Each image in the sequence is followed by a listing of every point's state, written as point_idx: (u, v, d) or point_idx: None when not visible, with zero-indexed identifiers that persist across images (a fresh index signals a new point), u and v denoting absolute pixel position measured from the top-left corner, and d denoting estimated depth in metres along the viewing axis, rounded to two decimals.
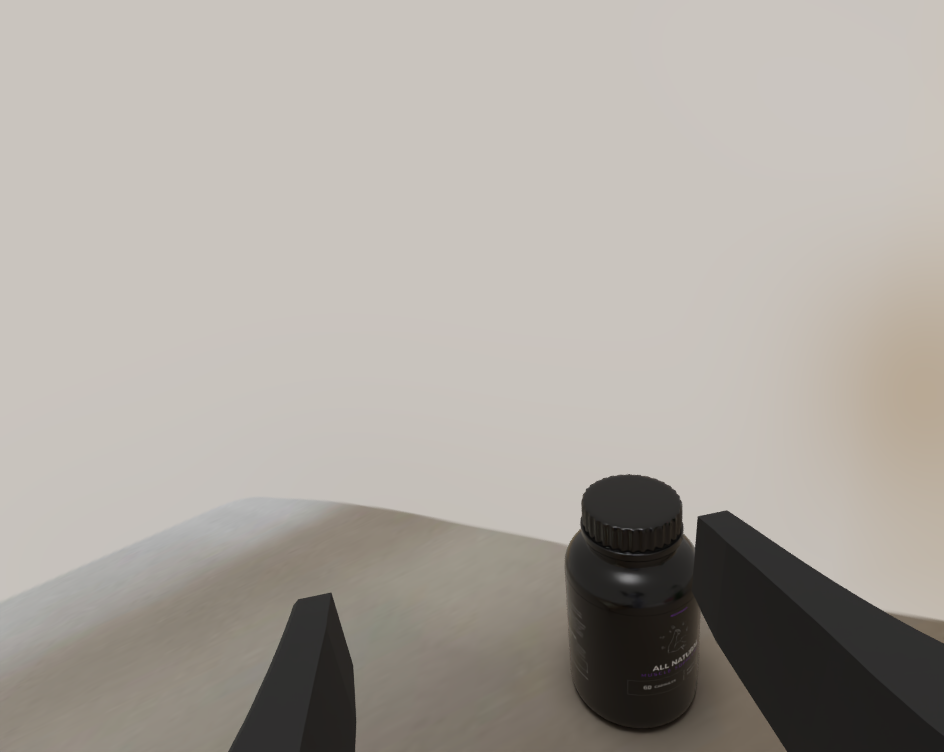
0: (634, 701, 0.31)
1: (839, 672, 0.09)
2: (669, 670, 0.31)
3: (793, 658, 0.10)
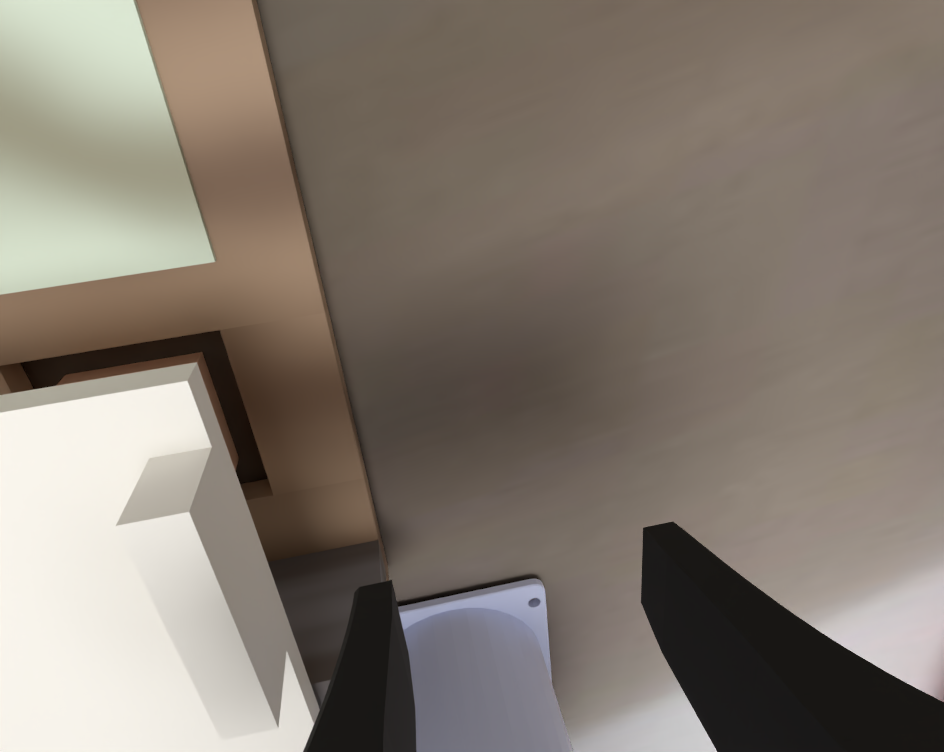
0: None
1: (765, 690, 0.09)
2: None
3: (727, 674, 0.10)
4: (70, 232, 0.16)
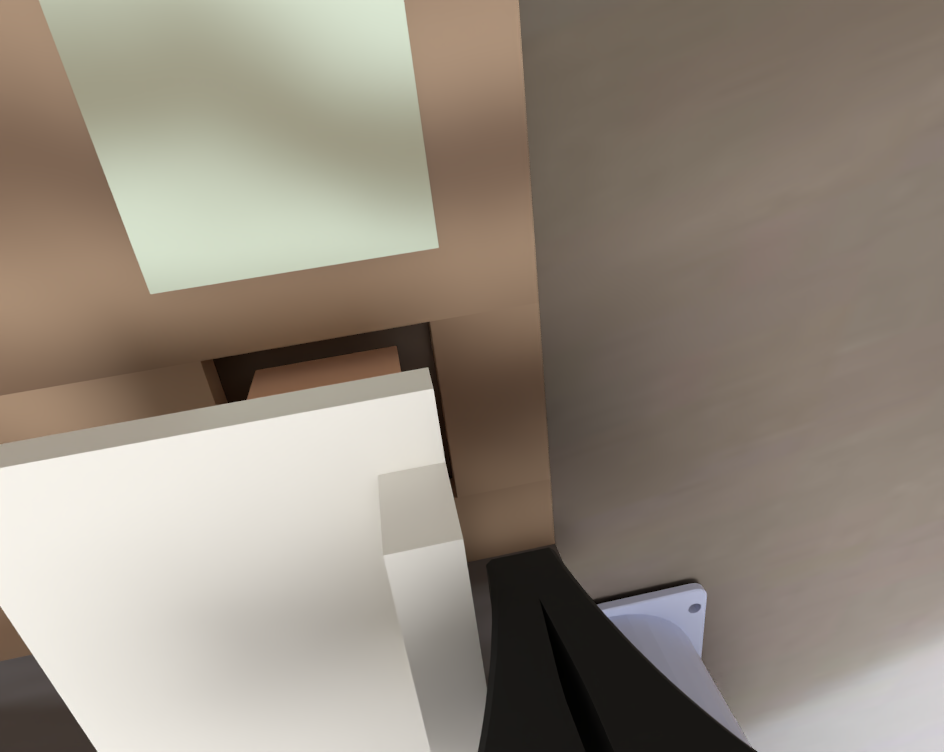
0: None
1: (595, 731, 0.08)
2: None
3: (575, 710, 0.09)
4: (296, 215, 0.15)
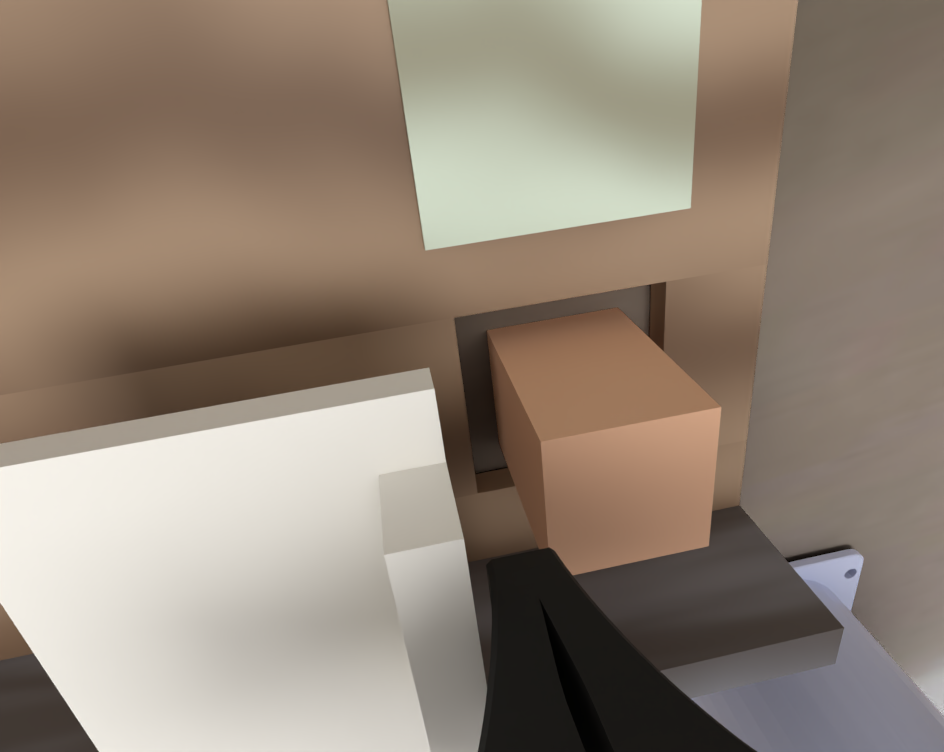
0: None
1: (595, 730, 0.08)
2: None
3: (575, 710, 0.09)
4: (570, 175, 0.15)
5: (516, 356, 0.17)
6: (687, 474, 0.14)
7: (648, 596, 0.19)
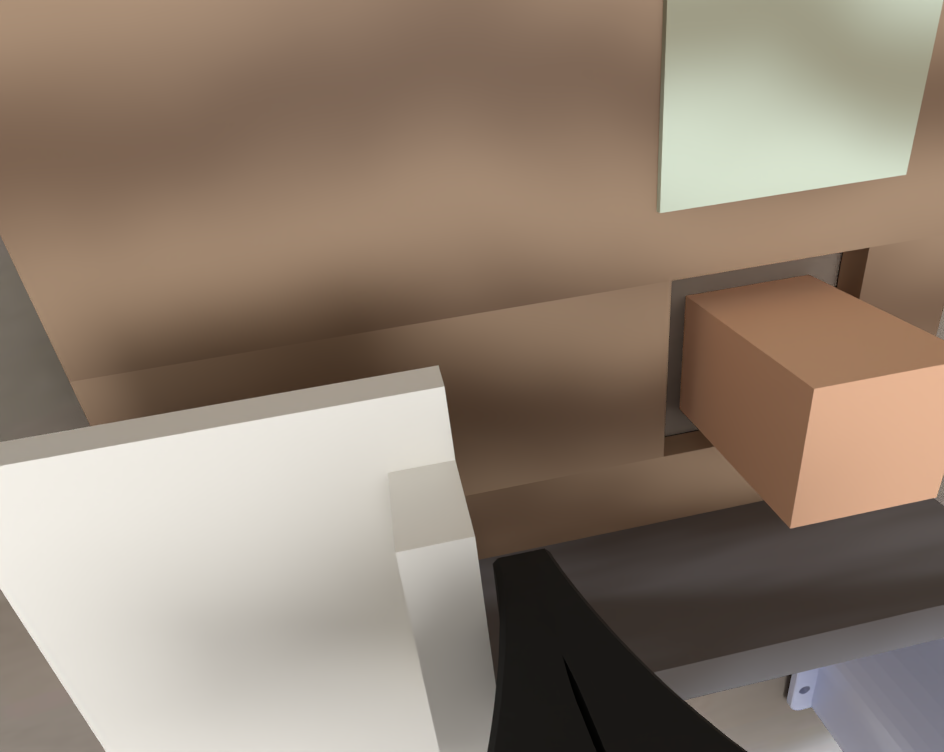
0: None
1: (588, 732, 0.08)
2: None
3: None
4: (803, 140, 0.16)
5: (733, 317, 0.17)
6: (934, 424, 0.15)
7: (836, 554, 0.19)
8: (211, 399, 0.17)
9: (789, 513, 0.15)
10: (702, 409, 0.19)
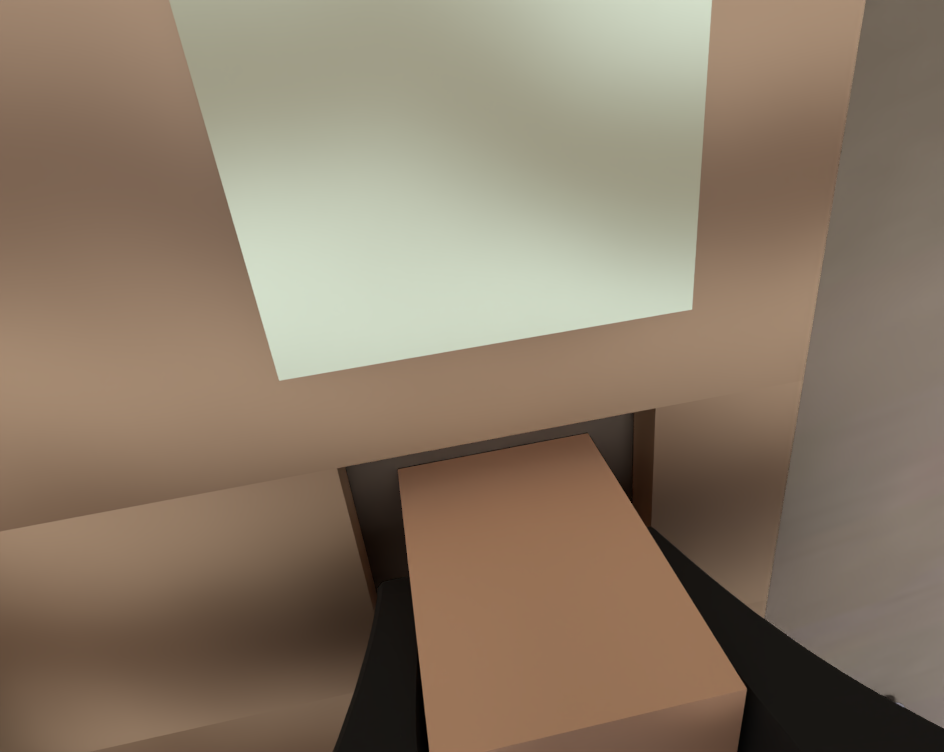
0: None
1: None
2: None
3: None
4: (503, 266, 0.10)
5: (428, 529, 0.11)
6: None
7: None
8: None
9: None
10: None
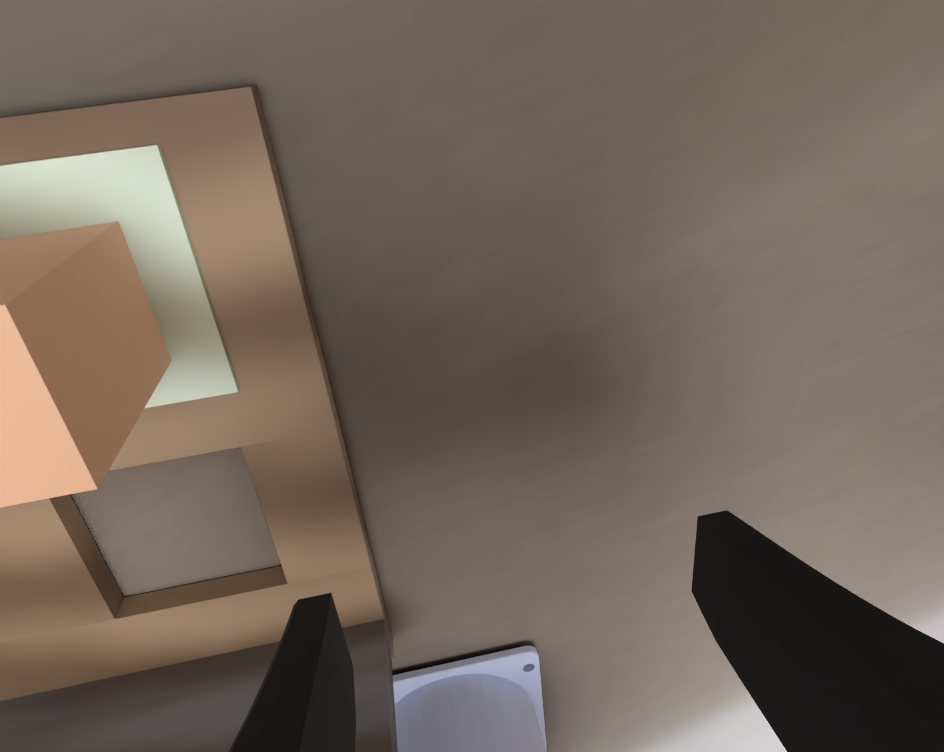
0: None
1: (839, 672, 0.09)
2: None
3: (793, 659, 0.10)
4: None
5: None
6: (7, 394, 0.11)
7: None
8: None
9: None
10: None
